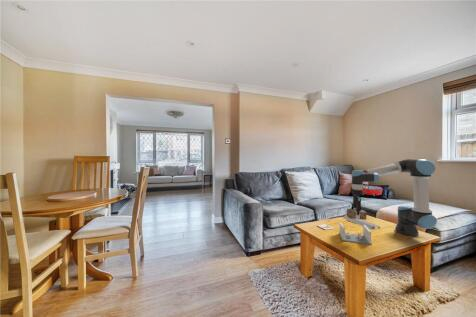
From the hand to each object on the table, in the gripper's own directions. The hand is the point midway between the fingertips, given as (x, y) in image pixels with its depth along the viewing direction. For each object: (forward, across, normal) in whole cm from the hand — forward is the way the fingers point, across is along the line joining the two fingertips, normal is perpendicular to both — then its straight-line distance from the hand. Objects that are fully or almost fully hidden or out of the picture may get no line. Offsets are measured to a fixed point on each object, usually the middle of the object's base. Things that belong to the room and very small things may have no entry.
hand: (356, 217), depth 149 cm
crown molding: (+18, -42, +13) cm, 47 cm away
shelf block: (0, 0, 0) cm, 0 cm away
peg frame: (+18, 0, -1) cm, 18 cm away
